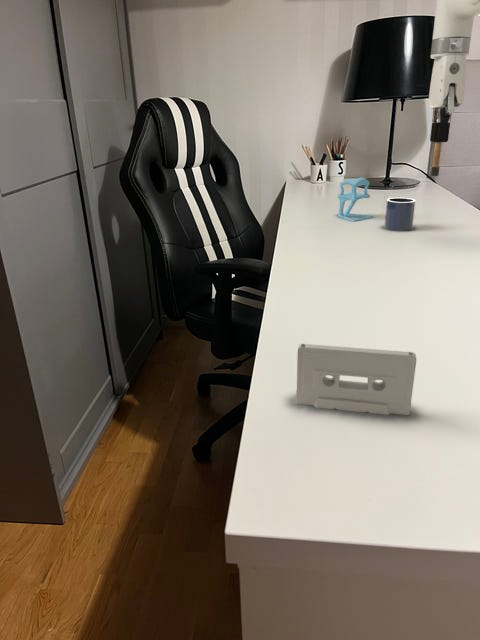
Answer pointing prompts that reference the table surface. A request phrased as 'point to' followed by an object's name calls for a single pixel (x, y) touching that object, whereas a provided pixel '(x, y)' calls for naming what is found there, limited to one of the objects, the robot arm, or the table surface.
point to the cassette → (359, 363)
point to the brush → (436, 159)
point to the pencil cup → (399, 214)
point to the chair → (352, 197)
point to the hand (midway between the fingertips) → (438, 141)
